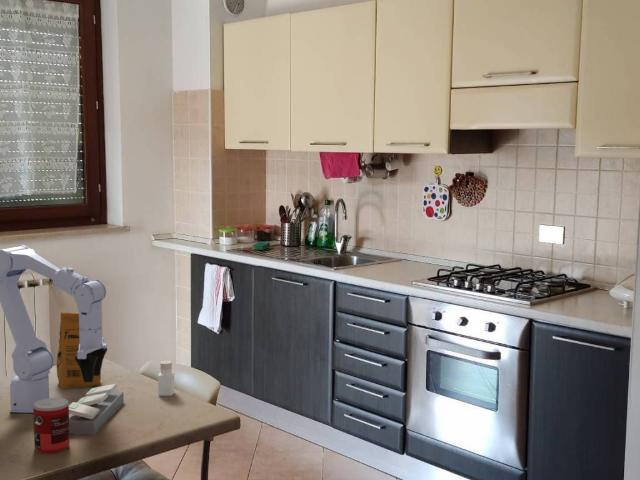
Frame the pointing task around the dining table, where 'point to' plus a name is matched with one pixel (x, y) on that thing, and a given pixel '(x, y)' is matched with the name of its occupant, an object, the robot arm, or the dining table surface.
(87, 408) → the rocker
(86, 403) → the rocker
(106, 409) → the switch strip
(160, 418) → the dining table surface
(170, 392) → the pepper shaker
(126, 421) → the dining table surface
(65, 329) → the coffee package
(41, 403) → the canned food
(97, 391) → the rocker
